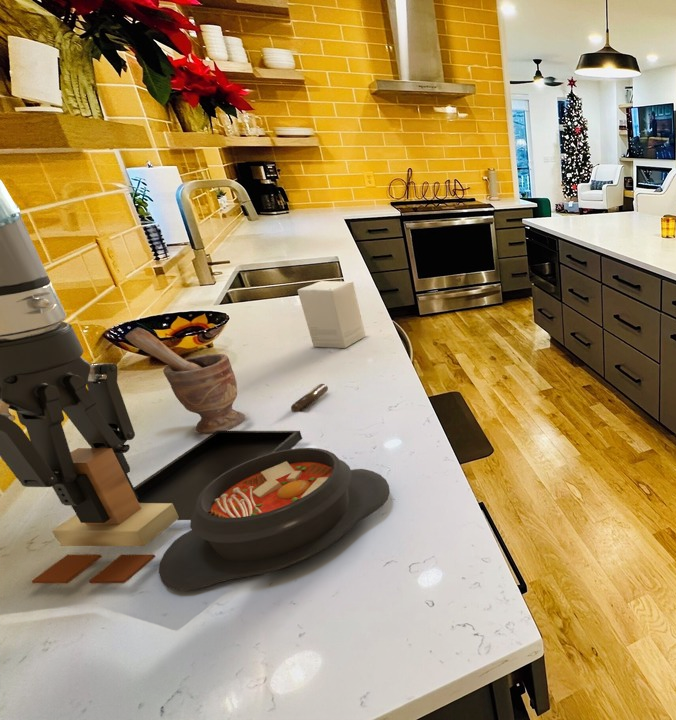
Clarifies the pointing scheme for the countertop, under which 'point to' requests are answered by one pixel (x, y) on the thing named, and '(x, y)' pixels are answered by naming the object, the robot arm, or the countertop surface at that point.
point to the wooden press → (113, 506)
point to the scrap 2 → (122, 568)
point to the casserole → (270, 516)
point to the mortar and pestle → (197, 382)
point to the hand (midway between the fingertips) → (110, 509)
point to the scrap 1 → (66, 568)
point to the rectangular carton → (332, 313)
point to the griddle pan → (216, 461)
